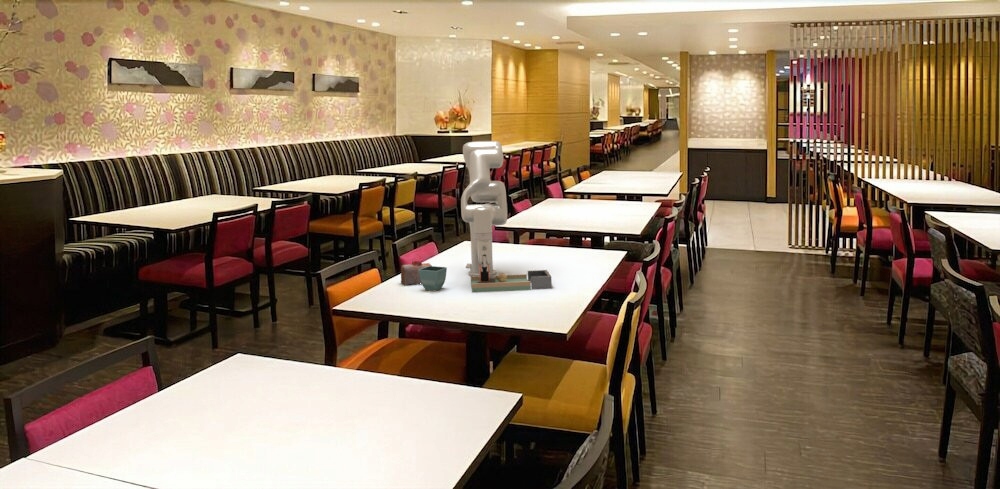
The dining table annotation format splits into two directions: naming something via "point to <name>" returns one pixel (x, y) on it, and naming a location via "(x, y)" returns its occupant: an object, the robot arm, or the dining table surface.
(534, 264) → the dining table surface
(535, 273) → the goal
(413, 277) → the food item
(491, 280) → the silver-capped pink block
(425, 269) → the flower pot
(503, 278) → the ball
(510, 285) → the pitch
